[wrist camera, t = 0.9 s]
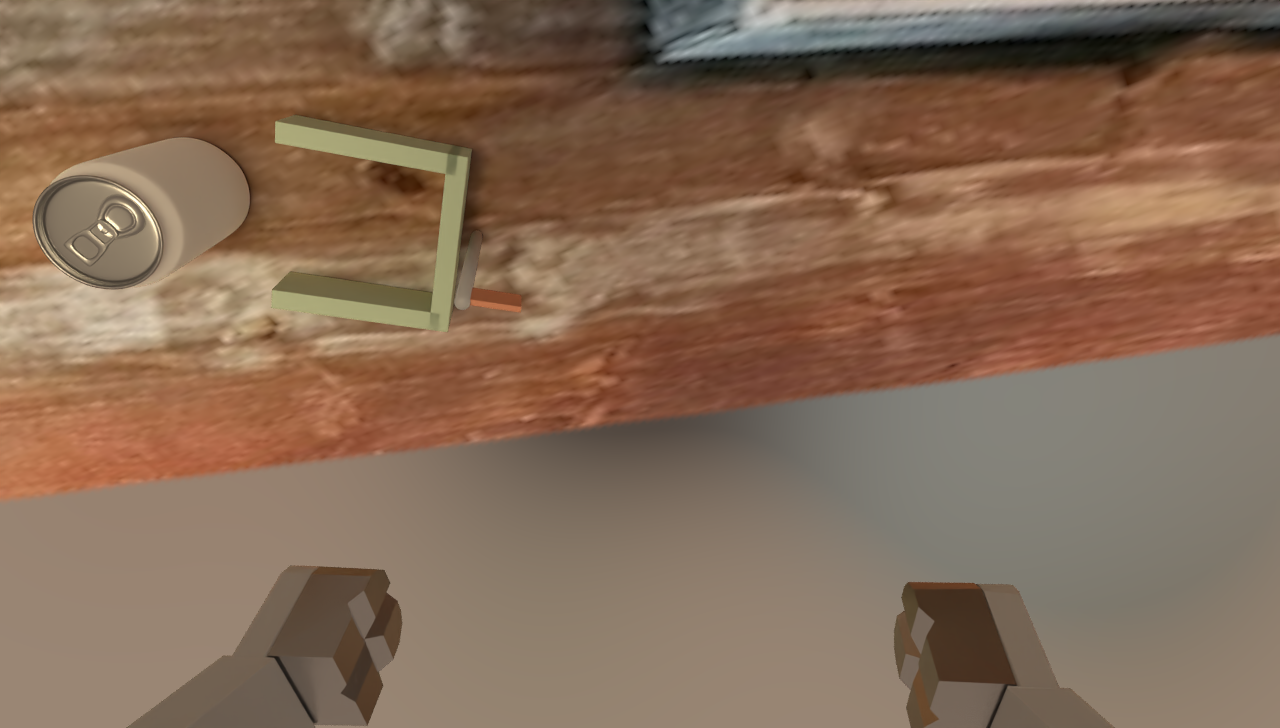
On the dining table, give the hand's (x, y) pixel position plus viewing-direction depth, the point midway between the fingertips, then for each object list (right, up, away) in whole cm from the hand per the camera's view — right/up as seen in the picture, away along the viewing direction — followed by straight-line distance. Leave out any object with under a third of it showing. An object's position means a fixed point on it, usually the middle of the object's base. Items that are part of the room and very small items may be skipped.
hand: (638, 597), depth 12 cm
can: (-28, +15, +35) cm, 47 cm away
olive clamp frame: (-15, +13, +38) cm, 43 cm away
